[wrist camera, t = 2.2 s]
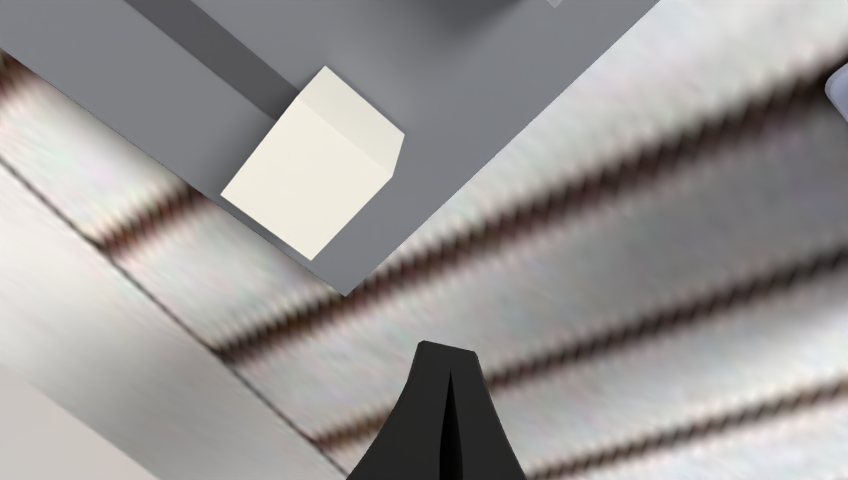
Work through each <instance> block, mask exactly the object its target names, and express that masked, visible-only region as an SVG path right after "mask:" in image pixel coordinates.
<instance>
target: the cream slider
mask: <svg viewBox="0 0 848 480" xmlns="http://www.w3.org/2000/svg"><path fill="white" fill-rule="evenodd" d="M404 135H405V134H404V133H402V132H401V131H400V130H399V129H398V128H397V127H395V126H394V125H393V124H392V123H391V122H390V121H389V120H387V119H386V118H385V117H384V116H383V115H382V114H380V113H379V112H378V111H377V110H376V109H375V108H374V107H372V106H371V105H370V104H369V103H368V102H367V101H365V100H364V99H363V98H362V97H361V96H360V95H359V94H357V93H356V92H355V91H354V90H353V89H352V88H350V87H349V86H348V85H347V84H346V83H345V82H344V81H342V80H341V79H340V78H339V77H338V76H337V75H335V74H334V73H333V72H332V71H331V70H330V69H329V68H327V67H326V66H324V67H323V68H322V70H321V71H320V72H319V73H318V74H317V75H316V76H315V77H314V78H313V79H312V81H311V82H310V83H309V84H308V85H307V86H306V87H305V88H304V89H303V90H302V91H301V93H300V94H299V95H298V96H297V97H296V98H295V100H294V101H293V102H292V103H291V105H290V106H289V107H288V109H287V110H286V111H285V112H284V114H283V115H282V116H281V117H280V119H279V120H278V121H277V123H276V124H275V125H274V126H273V128H272V129H271V130H270V132H269V133H268V134H267V135H266V137H265V138H264V139H263V141H262V142H261V143H260V144H259V146H258V147H257V148H256V149H255V151H254V152H253V153H252V155H251V156H250V157H249V158H248V160H247V161H246V162H245V164H244V165H243V166H242V167H241V169H240V170H239V171H238V173H237V174H236V175H235V176H234V178H233V179H232V180H231V181H230V183H229V184H228V185H227V187H226V188H225V189H224V190H223V192H222V193H221V194H220V195H221V196H223V197H224V198H225V199H227V200H228V201H230V202H231V203H232V204H234V205H235V206H236V207H238V208H239V209H240V210H242V211H243V212H245V213H246V214H247V215H249V216H250V217H251V218H253V219H254V220H256V221H257V222H258V223H260V224H261V225H262V226H264V227H265V228H267V229H268V230H269V231H271V232H272V233H273V234H275V235H276V236H278V237H279V238H280V239H282V240H283V241H284V242H286V243H287V244H288V245H290V246H291V247H293V248H294V249H295V250H297V251H298V252H299V253H301V254H302V255H304V256H305V257H306V258H308V259H309V260H310V261H311V260H312V259H313V258H314V257H315V256H316V255H317V254H318V253H319V252H320V251H321V250H322V249H323V248H324V247H325V246H326V245H327V244H328V243H329V242H330V240H331V239H332V238H333V237H334V236H335V235H336V234H337V233H338V232H339V231H340V230H341V229H342V228H343V227H344V226H345V225H346V224H347V223H348V222H349V221H350V220H351V219H352V218H353V217H354V216H355V215H356V214H357V213H358V212H359V210H360V209H361V208H362V207H363V206H364V205H365V204H366V203H367V202H368V201H369V200H370V199H371V198H372V197H373V196H374V195H375V194H376V193H377V192H378V191H379V190H380V189H381V188H382V187H383V186H384V185H385V184H386V183H387V182H388V180H389V179H390V178H391V177H392V176H393V172H394V169H395V166H396V162H397V159H398V156H399V152H400V149H401V145H402V142H403V139H404Z"/></svg>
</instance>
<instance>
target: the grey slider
mask: <svg viewBox="0 0 848 480" xmlns="http://www.w3.org/2000/svg"><path fill="white" fill-rule="evenodd" d="M547 1H548V2H549V3H550V4H551V5H552V6H553V8H554V9H555V8H556V7H557V6H558V5H559V4H560V3H561V2H562V0H547Z"/></svg>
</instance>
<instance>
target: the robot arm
mask: <svg viewBox="0 0 848 480" xmlns="http://www.w3.org/2000/svg"><path fill="white" fill-rule="evenodd" d="M825 93H826V95H827V97H828V98H829V99H830V101H831V102H832V103H833V104H834V106H835V107H836V108H837V109H838V111H839V112H840V113H841V115H842V116H843V117H844V118H845V120H846V121H847V122H848V63H847V64H845V65H844V66H843V67H841V68H840V69H839V70H837V71H836V72H835V73H834V74H833V75H832V76H831V77H830V78H829V79H828V81H827V83H826V85H825ZM346 480H527V478H526V476H525V474H524V472H523V470H522V468H521V467H520V464H519V462H518V460H517V458H516V456H515V454H514V452H513V450H512V448H511V446H510V444H509V441H508V439H507V437H506V435H505V432H504V430H503V427H502V425H501V423H500V420H499V418H498V415H497V413H496V410H495V408H494V405H493V403H492V400H491V397H490V394H489V392H488V389H487V386H486V383H485V380H484V377H483V374H482V370H481V367H480V364H479V360H478V356H477V355H476V353H475V352H474V351H469V350H465V349H460V348H456V347H451V346H447V345H442V344H438V343H434V342H429V341H425V340H424V341H422V342H419V343H418V346H417V349H416V353H415V356H414V359H413V363H412V366H411V370H410V373H409V377H408V380H407V383H406V385H405V387H404V389H403V391H402V393H401V395H400V397H399V399H398V401H397V403H396V405H395V407H394V409H393V410H392V412H391V414H390V415H389V417H388V419H387V420H386V422H385V424H384V426H383V427H382V429H381V431H380V432H379V434H378V435H377V437H376V438H375V440H374V441H373V443H372V445H371V446H370V447H369V449H368V450H367V452H366V453H365V455H364V456H363V457H362V459H361V460H360V462H359V463H358V464H357V466H356V467H355V468H354V470H353V471H352V472H351V474H350V475H349V476H348V478H347V479H346Z"/></svg>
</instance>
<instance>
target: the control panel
mask: <svg viewBox="0 0 848 480" xmlns="http://www.w3.org/2000/svg"><path fill="white" fill-rule="evenodd" d="M659 1H660V0H562V2H561V3H560V4H559V5H558V6H557V7H556V8H555V9H554V8H553V6H552V5H551V4H550V3H549V2H548V1H547V0H0V48H1V49H3V50H4V51H5V52H7V53H8V54H10V55H11V56H12V57H14V58H15V59H17V60H18V61H19V62H21V63H22V64H23V65H25V66H26V67H28V68H29V69H30V70H32V71H33V72H35V73H36V74H37V75H39V76H40V77H41V78H43V79H44V80H46V81H47V82H48V83H50V84H51V85H53V86H54V87H55V88H57V89H58V90H59V91H61V92H62V93H64V94H65V95H66V96H68V97H69V98H71V99H72V100H73V101H75V102H76V103H77V104H79V105H80V106H82V107H83V108H84V109H86V110H87V111H89V112H90V113H91V114H93V115H94V116H96V117H97V118H98V119H100V120H101V121H102V122H104V123H105V124H107V125H108V126H109V127H111V128H112V129H114V130H115V131H116V132H118V133H119V134H120V135H122V136H123V137H125V138H126V139H127V140H129V141H130V142H132V143H133V144H134V145H136V146H137V147H138V148H140V149H141V150H143V151H144V152H145V153H147V154H148V155H150V156H151V157H152V158H154V159H155V160H156V161H158V162H159V163H161V164H162V165H163V166H165V167H166V168H168V169H169V170H170V171H172V172H173V173H174V174H176V175H177V176H179V177H180V178H181V179H183V180H184V181H186V182H187V183H188V184H190V185H191V186H193V187H194V188H195V189H197V190H198V191H199V192H201V193H202V194H204V195H205V196H206V197H208V198H209V199H211V200H212V201H213V202H215V203H216V204H217V205H219V206H220V207H222V208H223V209H224V210H226V211H227V212H229V213H230V214H231V215H233V216H234V217H235V218H237V219H238V220H240V221H241V222H242V223H244V224H245V225H247V226H248V227H249V228H251V229H252V230H253V231H255V232H256V233H258V234H259V235H260V236H262V237H263V238H265V239H266V240H267V241H269V242H270V243H271V244H273V245H274V246H276V247H277V248H278V249H280V250H281V251H283V252H284V253H285V254H287V255H288V256H290V257H291V258H292V259H294V260H295V261H296V262H298V263H299V264H301V265H302V266H303V267H305V268H306V269H308V270H309V271H310V272H312V273H313V274H314V275H316V276H317V277H319V278H320V279H321V280H323V281H324V282H326V283H327V284H328V285H330V286H331V287H332V288H334V289H335V290H337V291H338V292H339V293H341V294H342V295H344V296H347V295H348V294H349V293H350V292H351V291H352V290H353V289H354V288H355V287H356V286H357V285H358V284H359V283H360V282H361V281H362V280H364V279H365V278H366V277H367V276H368V275H369V274H370V273H371V272H372V271H373V270H374V269H375V268H376V267H377V266H378V265H379V264H380V263H382V262H383V261H384V260H385V259H386V258H387V257H388V256H389V255H390V254H391V253H392V252H393V251H394V250H395V249H396V248H397V247H399V246H400V245H401V244H402V243H403V242H404V241H405V240H406V239H407V238H408V237H409V236H410V235H411V234H412V233H413V232H414V231H416V230H417V229H418V228H419V227H420V226H421V225H422V224H423V223H424V222H425V221H426V220H427V219H428V218H429V217H430V216H431V215H432V214H434V213H435V212H436V211H437V210H438V209H439V208H440V207H441V206H442V205H443V204H444V203H445V202H446V201H447V200H448V199H449V198H451V197H452V196H453V195H454V194H455V193H456V192H457V191H458V190H459V189H460V188H461V187H462V186H463V185H464V184H465V183H466V182H468V181H469V180H470V179H471V178H472V177H473V176H474V175H475V174H476V173H477V172H478V171H479V170H480V169H481V168H482V167H483V166H484V165H486V164H487V163H488V162H489V161H490V160H491V159H492V158H493V157H494V156H495V155H496V154H497V153H498V152H499V151H500V150H501V149H503V148H504V147H505V146H506V145H507V144H508V143H509V142H510V141H511V140H512V139H513V138H514V137H515V136H516V135H517V134H518V133H520V132H521V131H522V130H523V129H524V128H525V127H526V126H527V125H528V124H529V123H530V122H531V121H532V120H533V119H534V118H535V117H536V116H538V115H539V114H540V113H541V112H542V111H543V110H544V109H545V108H546V107H547V106H548V105H549V104H550V103H551V102H552V101H553V100H555V99H556V98H557V97H558V96H559V95H560V94H561V93H562V92H563V91H564V90H565V89H566V88H567V87H568V86H569V85H570V84H572V83H573V82H574V81H575V80H576V79H577V78H578V77H579V76H580V75H581V74H582V73H583V72H584V71H585V70H586V69H587V68H589V67H590V66H591V65H592V64H593V63H594V62H595V61H596V60H597V59H598V58H599V57H600V56H601V55H602V54H603V53H604V52H605V51H607V50H608V49H609V48H610V47H611V46H612V45H613V44H614V43H615V42H616V41H617V40H618V39H619V38H620V37H621V36H622V35H624V34H625V33H626V32H627V31H628V30H629V29H630V28H631V27H632V26H633V25H634V24H635V23H636V22H637V21H638V20H639V19H641V18H642V17H643V16H644V15H645V14H646V13H647V12H648V11H649V10H650V9H651V8H652V7H653V6H654V5H655V4H656V3H657V2H659ZM324 66H326V67H327V68H329V69H330V70H331V71H332V72H333V73H334V74H335V75H337V76H338V77H339V78H340V79H341V80H342V81H344V82H345V83H346V84H347V85H348V86H349V87H350V88H352V89H353V90H354V91H355V92H356V93H357V94H359V95H360V96H361V97H362V98H363V99H364V100H365V101H367V102H368V103H369V104H370V105H371V106H372V107H374V108H375V109H376V110H377V111H378V112H379V113H380V114H382V115H383V116H384V117H385V118H386V119H387V120H389V121H390V122H391V123H392V124H393V125H394V126H395V127H397V128H398V129H399V130H400V131H401V132H402V133H404V134H405V135H404V139H403V142H402V145H401V149H400V152H399V156H398V159H397V162H396V166H395V169H394V172H393V176H392V177H391V178H390V179H389V180H388V182H387V183H386V184H385V185H384V186H383V187H382V188H381V189H380V190H379V191H378V192H377V193H376V194H375V195H374V196H373V197H372V198H371V199H370V200H369V201H368V202H367V203H366V204H365V205H364V206H363V207H362V208H361V209H360V210H359V212H358V213H357V214H356V215H355V216H354V217H353V218H352V219H351V220H350V221H349V222H348V223H347V224H346V225H345V226H344V227H343V228H342V229H341V230H340V231H339V232H338V233H337V234H336V235H335V236H334V237H333V238H332V239H331V240H330V242H329V243H328V244H327V245H326V246H325V247H324V248H323V249H322V250H321V251H320V252H319V253H318V254H317V255H316V256H315V257H314V258H313V259H312V260H311V261H310V260H309V259H308V258H306V257H305V256H304V255H302V254H301V253H299V252H298V251H297V250H295V249H294V248H293V247H291V246H290V245H288V244H287V243H286V242H284V241H283V240H282V239H280V238H279V237H278V236H276V235H275V234H273V233H272V232H271V231H269V230H268V229H267V228H265V227H264V226H262V225H261V224H260V223H258V222H257V221H256V220H254V219H253V218H251V217H250V216H249V215H247V214H246V213H245V212H243V211H242V210H240V209H239V208H238V207H236V206H235V205H234V204H232V203H231V202H230V201H228V200H227V199H225V198H224V197H223V196H221V195H220V194H221V193H222V192H223V190H224V189H225V188H226V187H227V185H228V184H229V183H230V181H231V180H232V179H233V178H234V176H235V175H236V174H237V173H238V171H239V170H240V169H241V167H242V166H243V165H244V164H245V162H246V161H247V160H248V158H249V157H250V156H251V155H252V153H253V152H254V151H255V149H256V148H257V147H258V146H259V144H260V143H261V142H262V141H263V139H264V138H265V137H266V135H267V134H268V133H269V132H270V130H271V129H272V128H273V126H274V125H275V124H276V123H277V121H278V120H279V119H280V117H281V116H282V115H283V114H284V112H285V111H286V110H287V109H288V107H289V106H290V105H291V103H292V102H293V101H294V100H295V98H296V97H297V96H298V95H299V94H300V93H301V91H302V90H303V89H304V88H305V87H306V86H307V85H308V84H309V83H310V82H311V81H312V79H313V78H314V77H315V76H316V75H317V74H318V73H319V72H320V71H321V70H322V68H323V67H324Z"/></svg>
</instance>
